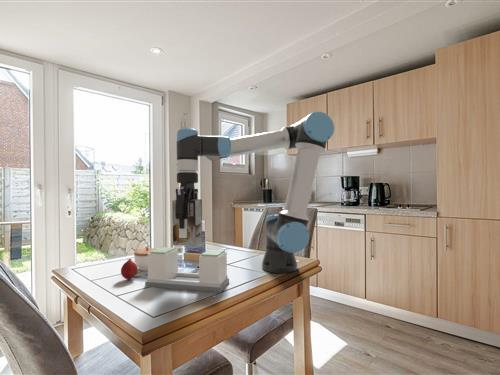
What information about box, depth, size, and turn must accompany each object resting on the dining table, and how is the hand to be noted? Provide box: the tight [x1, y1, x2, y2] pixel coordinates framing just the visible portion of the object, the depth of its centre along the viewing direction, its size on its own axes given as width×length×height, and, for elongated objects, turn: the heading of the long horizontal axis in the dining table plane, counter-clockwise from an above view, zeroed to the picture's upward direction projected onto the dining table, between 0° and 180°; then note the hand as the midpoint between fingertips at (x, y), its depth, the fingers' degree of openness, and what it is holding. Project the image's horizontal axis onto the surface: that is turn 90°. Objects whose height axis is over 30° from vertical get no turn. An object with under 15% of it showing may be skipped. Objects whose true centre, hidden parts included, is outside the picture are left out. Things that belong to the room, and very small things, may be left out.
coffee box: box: [171, 199, 203, 247], centre depth 101 cm, size 9×6×16 cm
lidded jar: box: [133, 246, 157, 272], centre depth 121 cm, size 11×11×9 cm
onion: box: [120, 258, 139, 281], centre depth 106 cm, size 6×6×8 cm
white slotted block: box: [144, 246, 230, 293], centre depth 101 cm, size 28×10×12 cm, turn 77°
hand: (187, 235), depth 101 cm, fingers closed on coffee box, 6 cm apart
